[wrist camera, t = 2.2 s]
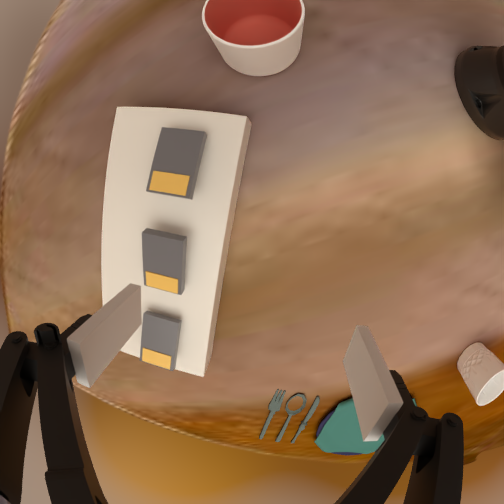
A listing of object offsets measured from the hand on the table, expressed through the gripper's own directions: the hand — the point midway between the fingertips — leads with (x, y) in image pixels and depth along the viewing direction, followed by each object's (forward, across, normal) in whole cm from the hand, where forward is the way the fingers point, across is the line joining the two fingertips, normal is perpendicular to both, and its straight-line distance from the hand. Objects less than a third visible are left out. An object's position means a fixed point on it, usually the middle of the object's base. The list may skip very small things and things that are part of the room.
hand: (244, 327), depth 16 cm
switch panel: (+21, -12, -2) cm, 24 cm away
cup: (+21, -4, +25) cm, 33 cm away
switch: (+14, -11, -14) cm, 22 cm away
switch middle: (+14, -10, -3) cm, 17 cm away
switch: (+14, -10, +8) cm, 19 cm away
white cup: (+21, +42, -14) cm, 49 cm away
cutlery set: (+22, +21, -32) cm, 43 cm away
